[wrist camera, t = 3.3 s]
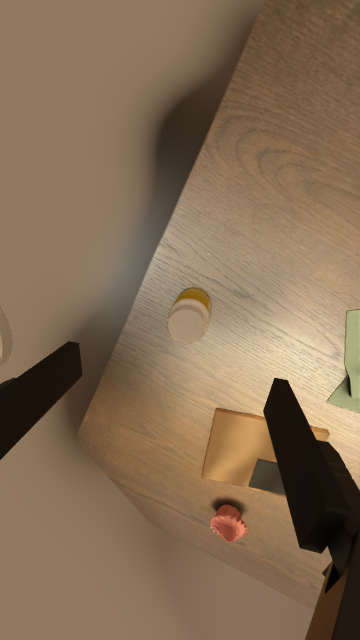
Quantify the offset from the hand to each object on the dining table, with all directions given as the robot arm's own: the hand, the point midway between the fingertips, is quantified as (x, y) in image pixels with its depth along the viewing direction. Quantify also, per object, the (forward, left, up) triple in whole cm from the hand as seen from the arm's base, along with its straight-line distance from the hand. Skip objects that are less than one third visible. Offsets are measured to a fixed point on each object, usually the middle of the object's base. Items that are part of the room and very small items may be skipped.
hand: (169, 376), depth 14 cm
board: (+15, -27, -16) cm, 35 cm away
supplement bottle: (0, 0, -17) cm, 17 cm away
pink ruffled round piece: (+13, -45, -17) cm, 50 cm away
